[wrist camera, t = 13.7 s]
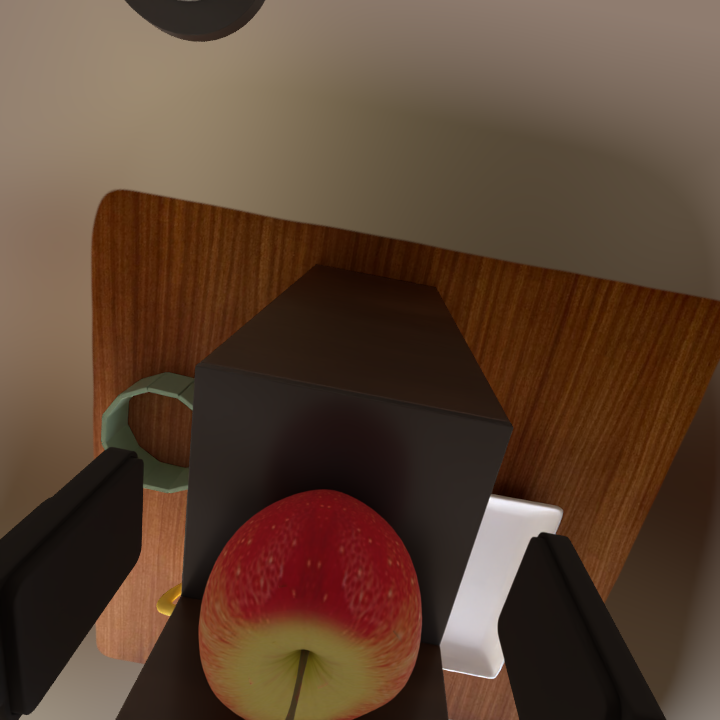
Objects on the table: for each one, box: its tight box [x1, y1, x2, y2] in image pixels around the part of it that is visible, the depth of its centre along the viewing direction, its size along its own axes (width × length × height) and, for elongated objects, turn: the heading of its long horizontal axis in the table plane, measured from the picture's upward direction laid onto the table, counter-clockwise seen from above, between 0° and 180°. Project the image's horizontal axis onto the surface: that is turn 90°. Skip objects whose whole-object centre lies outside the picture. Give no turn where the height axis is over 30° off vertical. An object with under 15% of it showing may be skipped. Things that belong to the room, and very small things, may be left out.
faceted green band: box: [101, 372, 195, 493], centre depth 57 cm, size 14×14×5 cm
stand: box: [116, 264, 513, 720], centre depth 33 cm, size 14×14×44 cm
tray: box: [440, 494, 563, 679], centre depth 63 cm, size 17×31×4 cm, turn 170°
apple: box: [199, 489, 422, 720], centre depth 17 cm, size 8×8×10 cm
